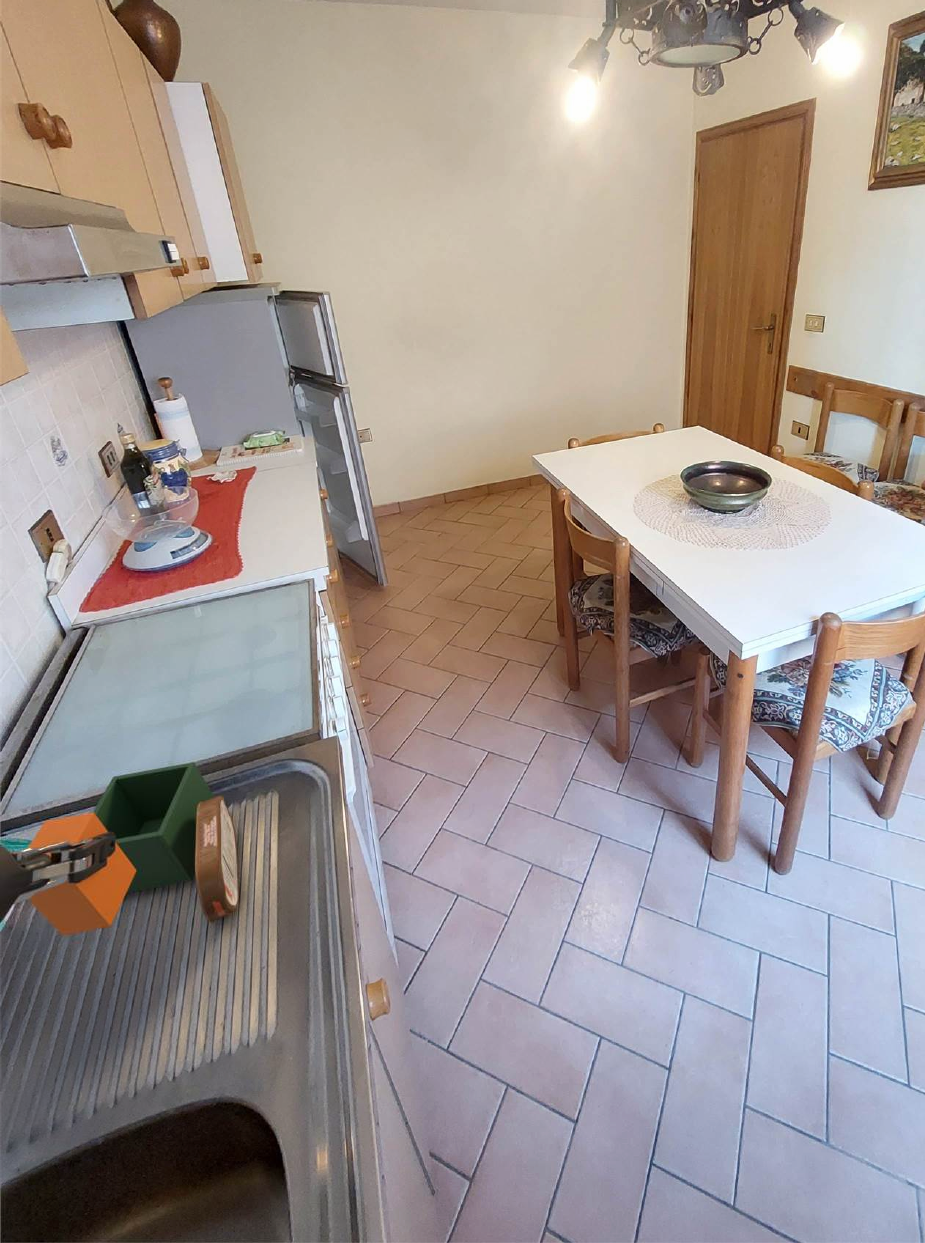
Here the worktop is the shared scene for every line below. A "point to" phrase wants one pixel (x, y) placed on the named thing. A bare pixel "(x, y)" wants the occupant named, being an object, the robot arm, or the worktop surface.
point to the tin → (216, 859)
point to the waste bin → (155, 822)
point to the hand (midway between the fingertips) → (82, 848)
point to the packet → (91, 897)
